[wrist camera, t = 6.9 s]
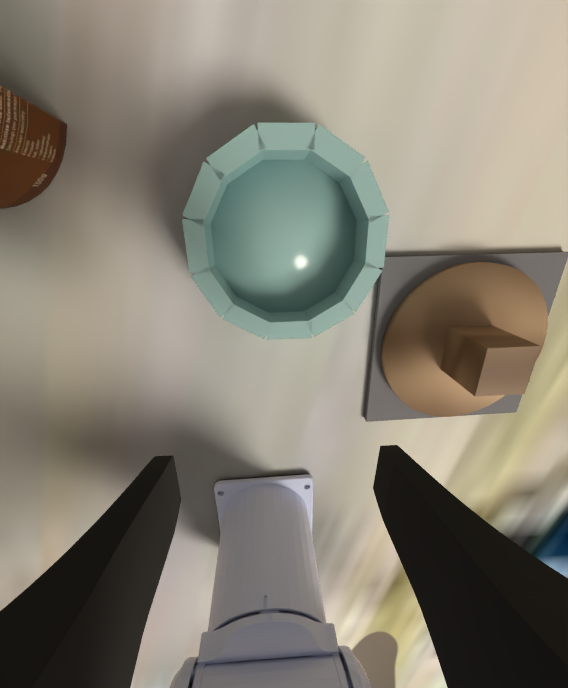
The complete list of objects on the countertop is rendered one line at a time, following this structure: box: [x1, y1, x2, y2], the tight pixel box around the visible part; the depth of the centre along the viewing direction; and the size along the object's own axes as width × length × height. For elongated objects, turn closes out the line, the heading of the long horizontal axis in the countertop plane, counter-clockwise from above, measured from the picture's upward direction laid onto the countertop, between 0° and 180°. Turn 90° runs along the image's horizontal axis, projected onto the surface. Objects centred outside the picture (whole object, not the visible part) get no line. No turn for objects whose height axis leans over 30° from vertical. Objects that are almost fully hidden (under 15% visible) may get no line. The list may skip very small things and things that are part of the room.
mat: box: [365, 252, 568, 422], centre depth 20 cm, size 12×12×1 cm
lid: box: [381, 262, 548, 417], centre depth 18 cm, size 11×11×4 cm
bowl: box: [182, 123, 389, 340], centre depth 16 cm, size 10×10×3 cm
